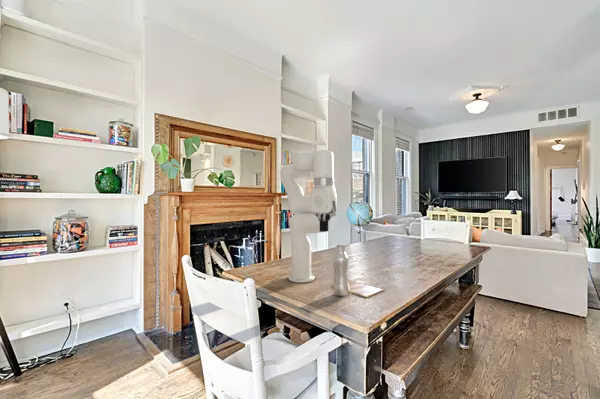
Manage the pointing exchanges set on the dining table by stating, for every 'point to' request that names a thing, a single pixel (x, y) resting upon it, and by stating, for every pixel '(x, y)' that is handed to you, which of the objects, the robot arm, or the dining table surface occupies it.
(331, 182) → the robot arm
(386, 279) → the dining table surface
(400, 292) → the dining table surface
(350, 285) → the cork mat
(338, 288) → the plastic bottle
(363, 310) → the dining table surface
